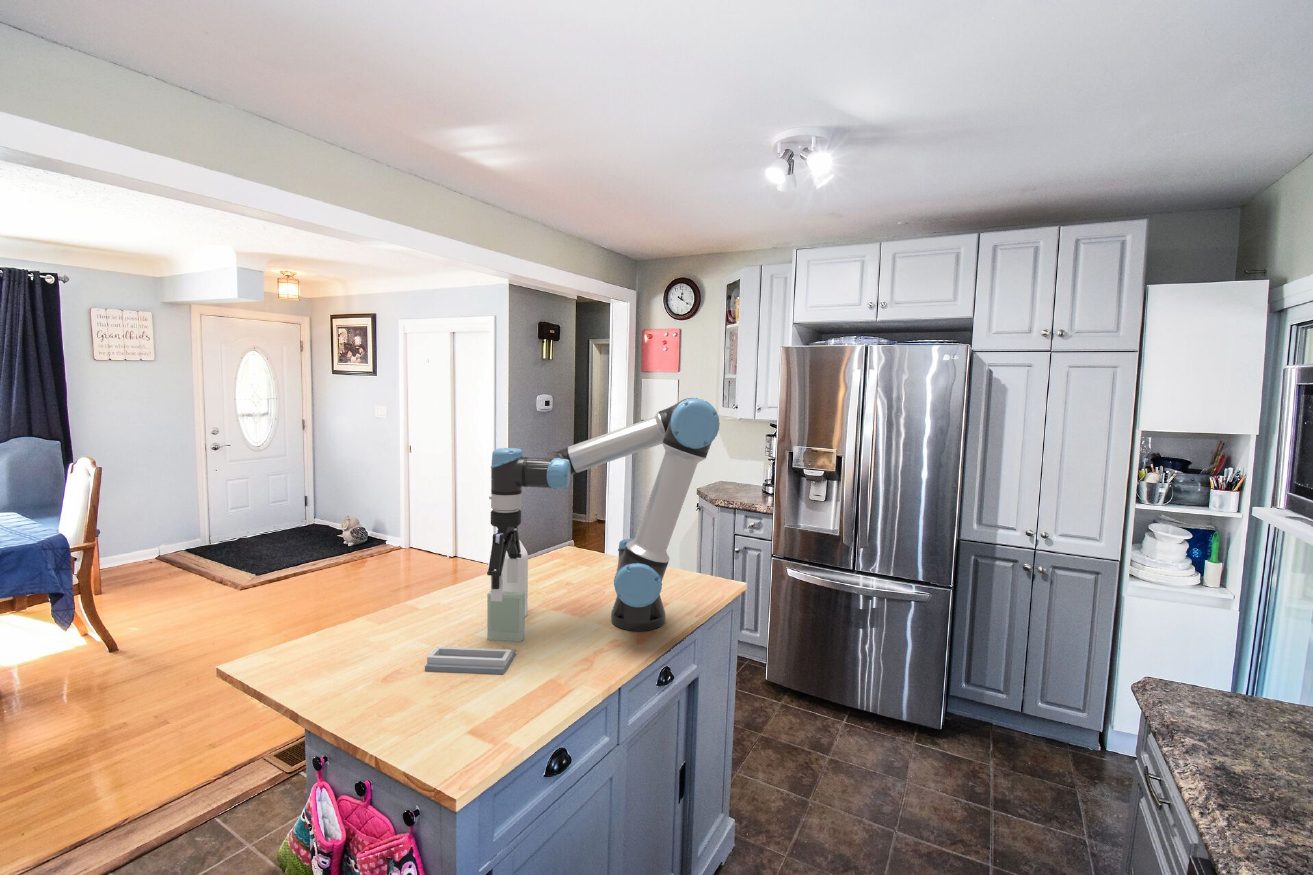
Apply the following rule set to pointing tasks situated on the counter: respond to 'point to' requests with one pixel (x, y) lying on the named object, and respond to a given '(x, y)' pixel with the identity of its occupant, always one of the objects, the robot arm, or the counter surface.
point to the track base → (469, 660)
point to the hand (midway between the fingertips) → (504, 591)
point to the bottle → (522, 576)
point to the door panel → (506, 617)
